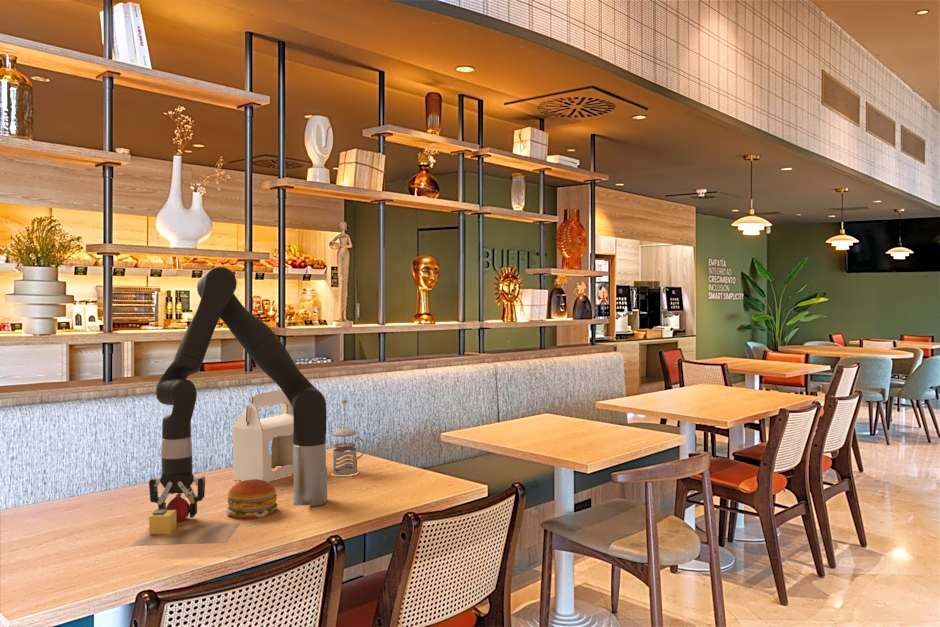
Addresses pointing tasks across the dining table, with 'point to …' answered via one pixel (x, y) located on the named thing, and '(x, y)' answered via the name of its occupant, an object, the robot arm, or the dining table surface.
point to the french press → (342, 447)
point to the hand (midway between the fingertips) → (177, 517)
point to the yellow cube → (162, 522)
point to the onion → (179, 507)
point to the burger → (251, 499)
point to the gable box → (263, 440)
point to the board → (189, 535)
